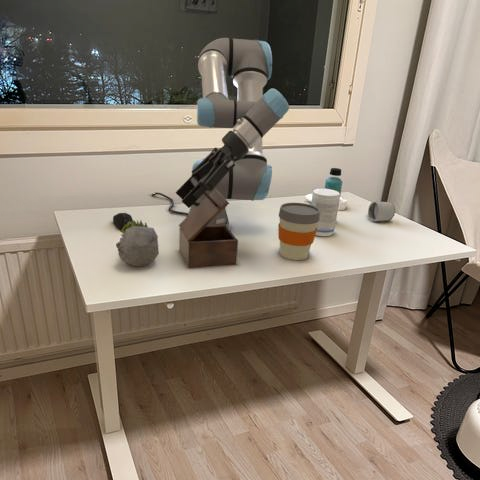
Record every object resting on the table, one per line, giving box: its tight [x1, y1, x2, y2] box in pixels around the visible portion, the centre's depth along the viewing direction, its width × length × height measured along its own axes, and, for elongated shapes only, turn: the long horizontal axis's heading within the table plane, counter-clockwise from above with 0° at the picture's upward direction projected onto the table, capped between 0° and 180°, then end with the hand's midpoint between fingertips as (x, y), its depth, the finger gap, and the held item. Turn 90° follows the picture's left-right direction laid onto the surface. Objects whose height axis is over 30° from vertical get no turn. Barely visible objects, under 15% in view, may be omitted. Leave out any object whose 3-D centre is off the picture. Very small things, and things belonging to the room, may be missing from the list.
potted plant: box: [115, 218, 160, 267], centre depth 137 cm, size 12×13×15 cm
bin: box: [178, 225, 239, 269], centre depth 143 cm, size 15×13×8 cm
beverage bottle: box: [324, 167, 343, 201], centre depth 178 cm, size 6×7×20 cm
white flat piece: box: [304, 192, 348, 211], centre depth 202 cm, size 3×18×15 cm
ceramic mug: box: [367, 200, 396, 222], centre depth 188 cm, size 11×8×8 cm
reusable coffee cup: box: [277, 202, 320, 261], centre depth 148 cm, size 13×12×15 cm
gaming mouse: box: [112, 212, 133, 231], centre depth 162 cm, size 6×15×4 cm, turn 22°
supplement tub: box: [310, 188, 341, 237], centre depth 168 cm, size 10×10×15 cm
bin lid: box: [178, 177, 230, 242], centre depth 135 cm, size 15×13×9 cm
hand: (182, 200), depth 133 cm, fingers closed on bin lid, 7 cm apart
